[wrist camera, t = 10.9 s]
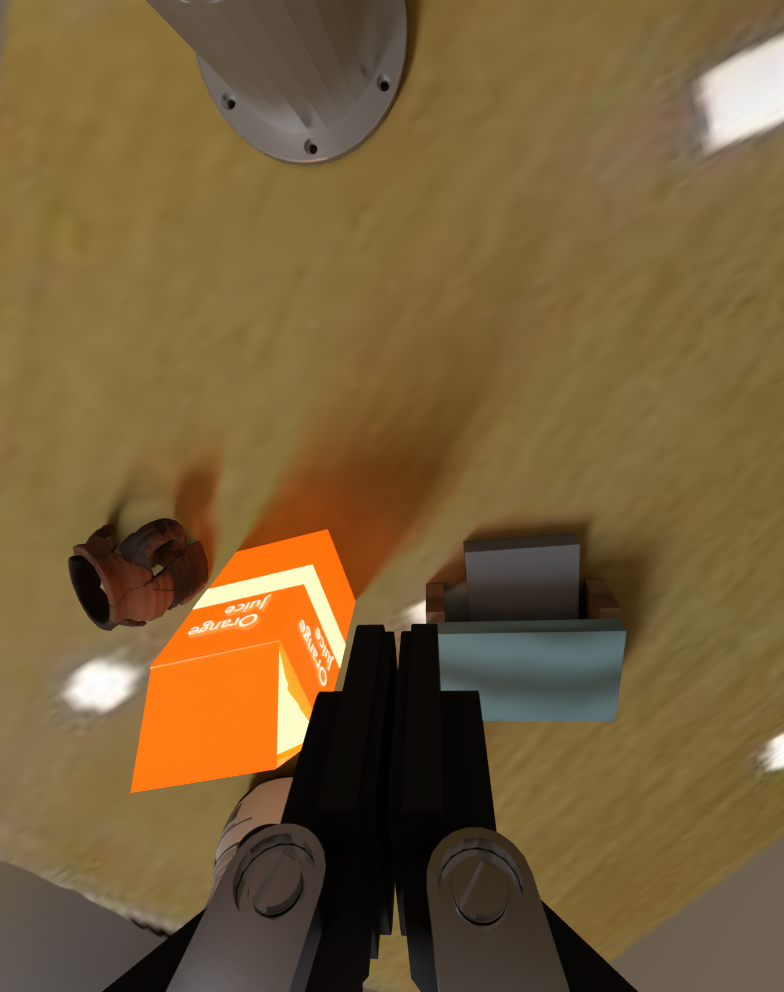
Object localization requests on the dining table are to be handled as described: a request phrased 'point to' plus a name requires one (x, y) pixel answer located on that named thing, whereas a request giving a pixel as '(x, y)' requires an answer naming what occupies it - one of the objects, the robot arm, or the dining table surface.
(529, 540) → the slate tile
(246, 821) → the milk container
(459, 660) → the shelf dock
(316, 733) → the robot arm
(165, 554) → the pottery mug
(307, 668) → the orange juice
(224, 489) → the dining table surface
